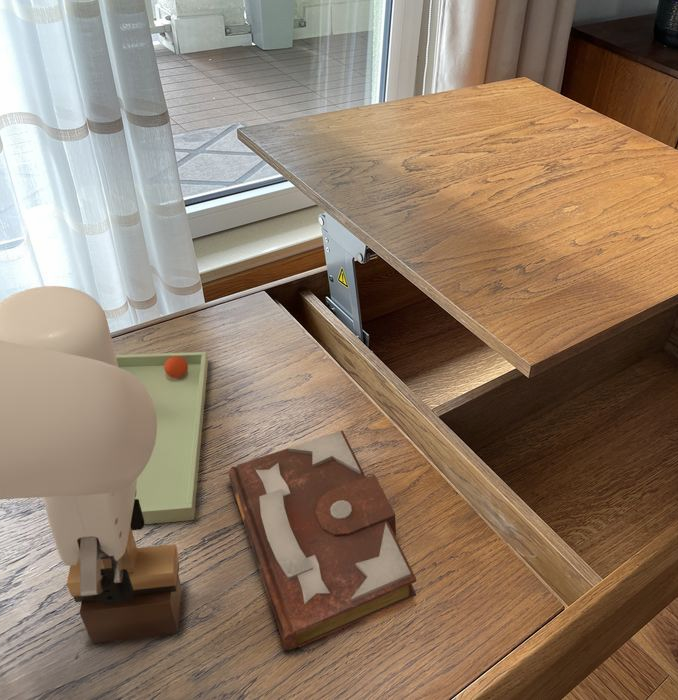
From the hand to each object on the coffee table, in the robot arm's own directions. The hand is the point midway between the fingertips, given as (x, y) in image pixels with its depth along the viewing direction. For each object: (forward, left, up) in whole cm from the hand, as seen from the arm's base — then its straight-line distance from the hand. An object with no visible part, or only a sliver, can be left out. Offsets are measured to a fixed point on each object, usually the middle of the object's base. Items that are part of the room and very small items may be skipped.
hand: (121, 560), depth 67 cm
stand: (0, 0, -10) cm, 10 cm away
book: (+7, -19, -10) cm, 23 cm away
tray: (+25, +2, -10) cm, 27 cm away
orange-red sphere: (+36, -1, -8) cm, 37 cm away
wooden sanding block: (0, 0, -4) cm, 4 cm away
